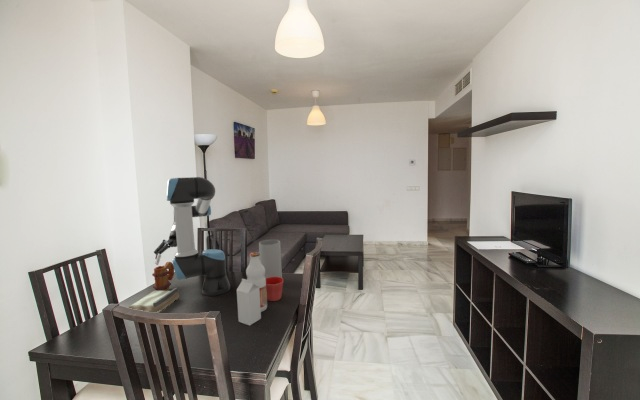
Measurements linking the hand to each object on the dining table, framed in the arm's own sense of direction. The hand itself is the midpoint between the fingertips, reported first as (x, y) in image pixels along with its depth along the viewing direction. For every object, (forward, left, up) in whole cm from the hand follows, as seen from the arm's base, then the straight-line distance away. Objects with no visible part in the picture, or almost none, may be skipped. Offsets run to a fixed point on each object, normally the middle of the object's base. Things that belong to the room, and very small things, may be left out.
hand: (168, 263), depth 175 cm
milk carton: (-64, +38, -13) cm, 75 cm away
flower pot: (-69, +15, -13) cm, 72 cm away
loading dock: (-10, +27, -13) cm, 31 cm away
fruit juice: (-64, +27, -13) cm, 70 cm away
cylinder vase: (-62, -5, -13) cm, 63 cm away
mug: (-2, +7, -13) cm, 15 cm away
